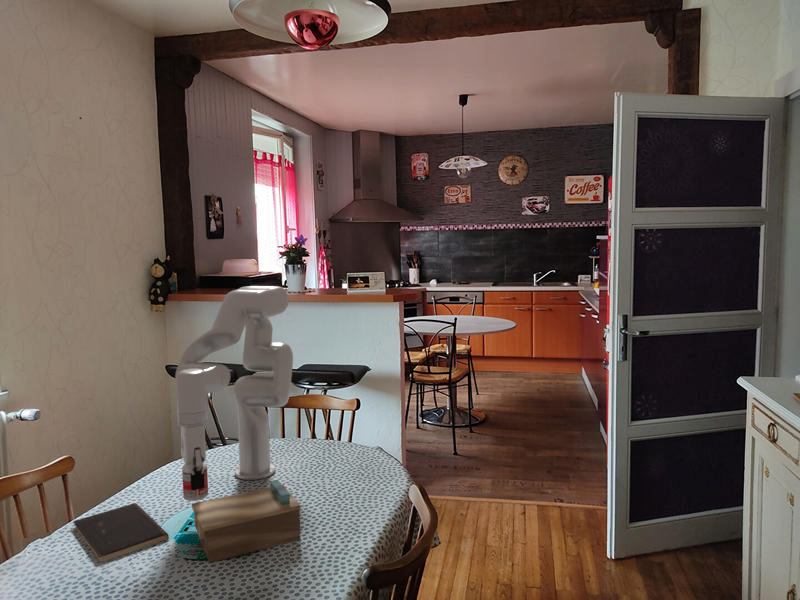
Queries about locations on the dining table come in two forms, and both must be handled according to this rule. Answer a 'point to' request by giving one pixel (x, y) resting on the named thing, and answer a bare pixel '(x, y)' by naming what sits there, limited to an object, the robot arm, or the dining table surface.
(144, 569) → the dining table surface
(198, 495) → the pill bottle
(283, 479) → the dining table surface
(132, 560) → the dining table surface
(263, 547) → the brown boxy piece
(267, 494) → the toolbox lid
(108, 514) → the hardcover book
